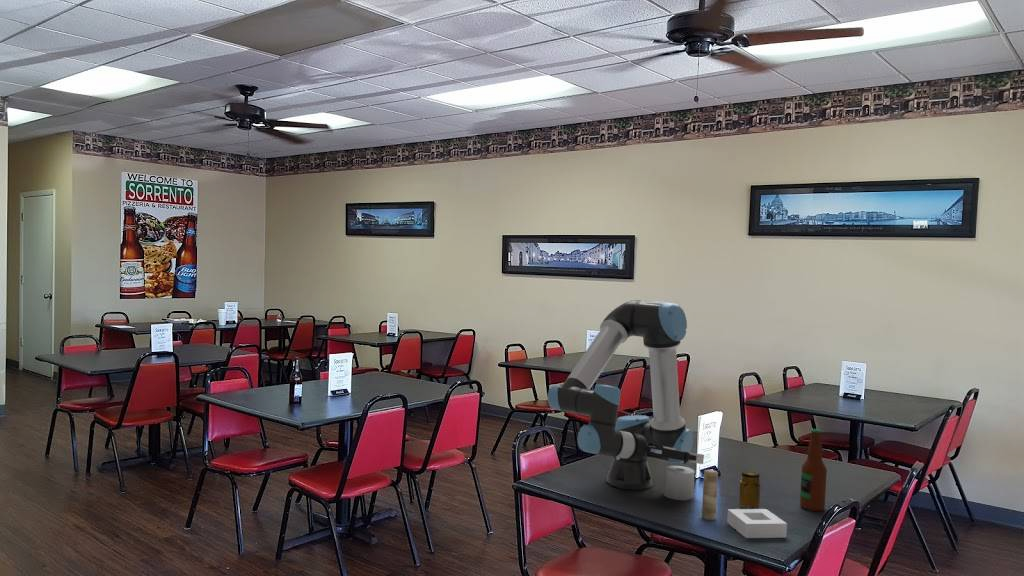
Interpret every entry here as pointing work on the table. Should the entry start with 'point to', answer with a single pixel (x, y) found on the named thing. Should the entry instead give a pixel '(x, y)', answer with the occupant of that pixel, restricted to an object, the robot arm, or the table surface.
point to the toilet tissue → (679, 482)
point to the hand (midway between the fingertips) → (688, 455)
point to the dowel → (709, 495)
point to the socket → (757, 523)
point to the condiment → (749, 490)
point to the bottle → (813, 476)
